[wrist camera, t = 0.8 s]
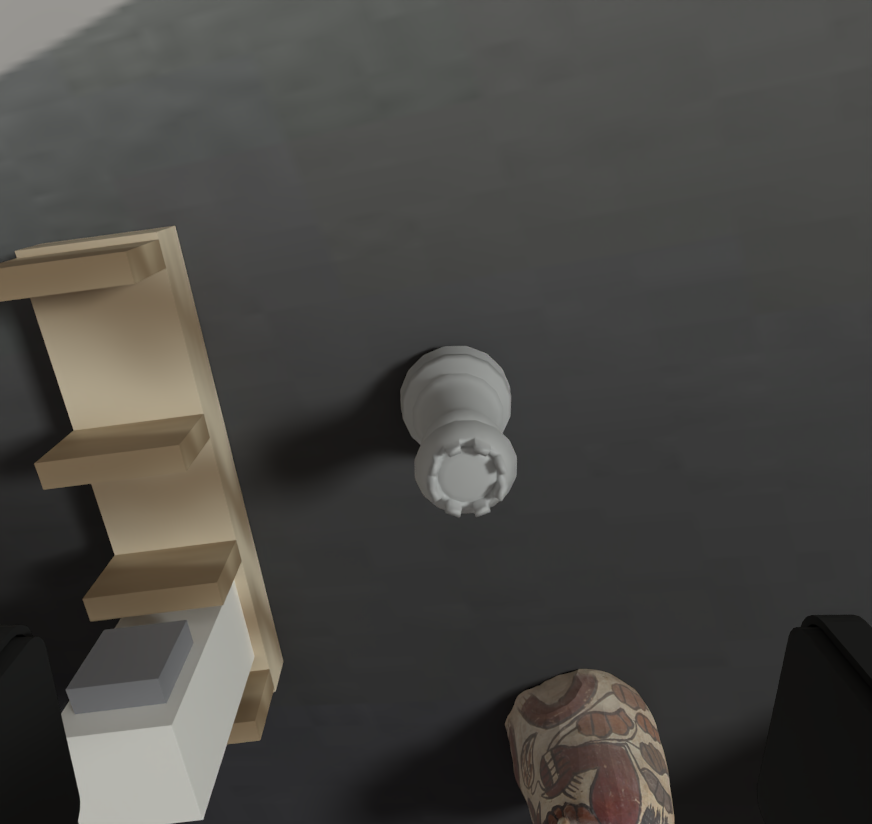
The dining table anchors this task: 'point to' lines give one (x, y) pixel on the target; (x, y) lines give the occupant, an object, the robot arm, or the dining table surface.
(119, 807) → the white and grey block
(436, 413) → the rook chess piece
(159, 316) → the wooden slotted rack
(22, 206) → the dining table surface
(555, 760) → the figurine
